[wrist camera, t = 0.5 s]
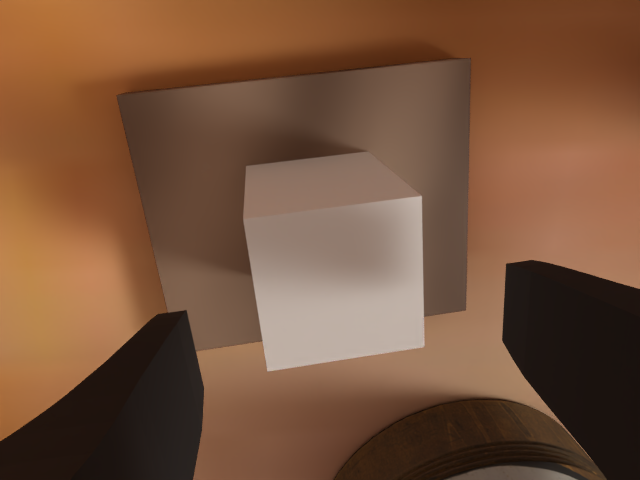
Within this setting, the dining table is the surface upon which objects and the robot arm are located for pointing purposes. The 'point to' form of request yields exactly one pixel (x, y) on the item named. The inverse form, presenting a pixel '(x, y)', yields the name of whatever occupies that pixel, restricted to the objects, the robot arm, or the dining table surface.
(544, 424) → the wooden container
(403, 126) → the stud block
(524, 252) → the dining table surface
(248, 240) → the block
